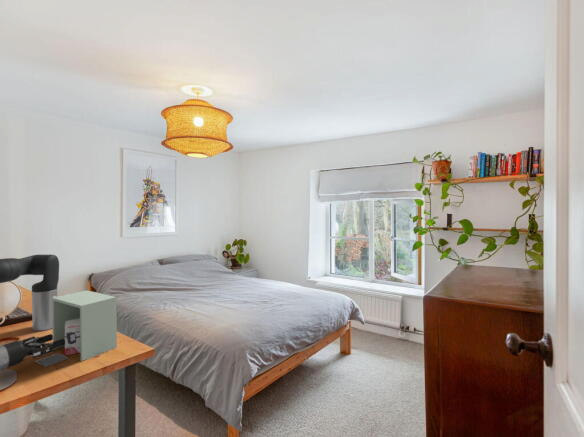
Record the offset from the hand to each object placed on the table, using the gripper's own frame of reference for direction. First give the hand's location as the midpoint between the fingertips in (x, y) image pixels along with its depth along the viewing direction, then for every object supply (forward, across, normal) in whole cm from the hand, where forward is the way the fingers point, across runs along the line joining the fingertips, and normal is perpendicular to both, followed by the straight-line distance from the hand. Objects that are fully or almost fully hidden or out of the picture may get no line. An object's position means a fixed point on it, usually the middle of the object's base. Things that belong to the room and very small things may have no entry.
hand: (58, 339), depth 118 cm
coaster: (-2, 0, +7) cm, 7 cm away
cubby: (+9, 0, +7) cm, 12 cm away
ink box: (+7, 0, +7) cm, 10 cm away
